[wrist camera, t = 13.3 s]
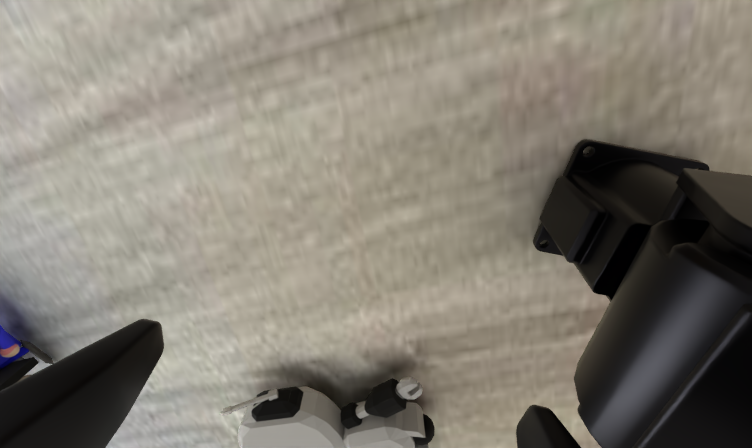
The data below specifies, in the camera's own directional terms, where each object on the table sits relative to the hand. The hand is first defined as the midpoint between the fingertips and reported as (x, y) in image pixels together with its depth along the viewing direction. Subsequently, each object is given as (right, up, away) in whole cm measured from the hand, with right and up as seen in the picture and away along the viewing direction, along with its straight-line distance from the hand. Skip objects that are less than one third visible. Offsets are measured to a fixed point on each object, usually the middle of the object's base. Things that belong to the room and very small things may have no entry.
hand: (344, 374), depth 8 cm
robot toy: (-2, -12, +22) cm, 25 cm away
